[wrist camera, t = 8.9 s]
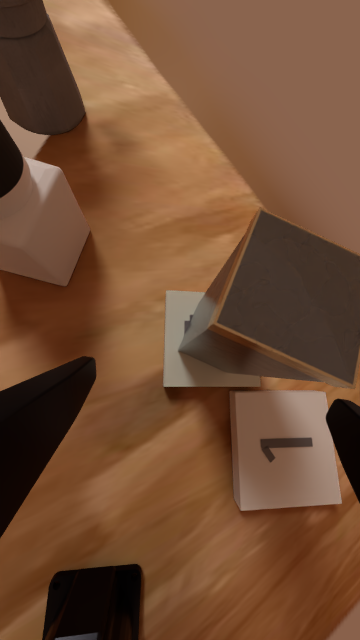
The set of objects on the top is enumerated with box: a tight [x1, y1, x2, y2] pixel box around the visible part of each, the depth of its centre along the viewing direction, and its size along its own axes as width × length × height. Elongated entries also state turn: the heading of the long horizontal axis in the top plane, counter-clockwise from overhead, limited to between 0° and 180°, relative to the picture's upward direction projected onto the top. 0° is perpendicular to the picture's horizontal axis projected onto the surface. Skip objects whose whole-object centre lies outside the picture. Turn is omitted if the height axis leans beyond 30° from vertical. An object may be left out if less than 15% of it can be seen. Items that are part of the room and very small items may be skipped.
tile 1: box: [229, 390, 342, 511], centre depth 18 cm, size 9×9×2 cm
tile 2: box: [163, 290, 261, 387], centre depth 20 cm, size 9×9×2 cm
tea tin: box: [178, 208, 360, 389], centre depth 13 cm, size 5×5×12 cm
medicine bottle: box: [0, 120, 90, 286], centre depth 15 cm, size 7×7×12 cm
